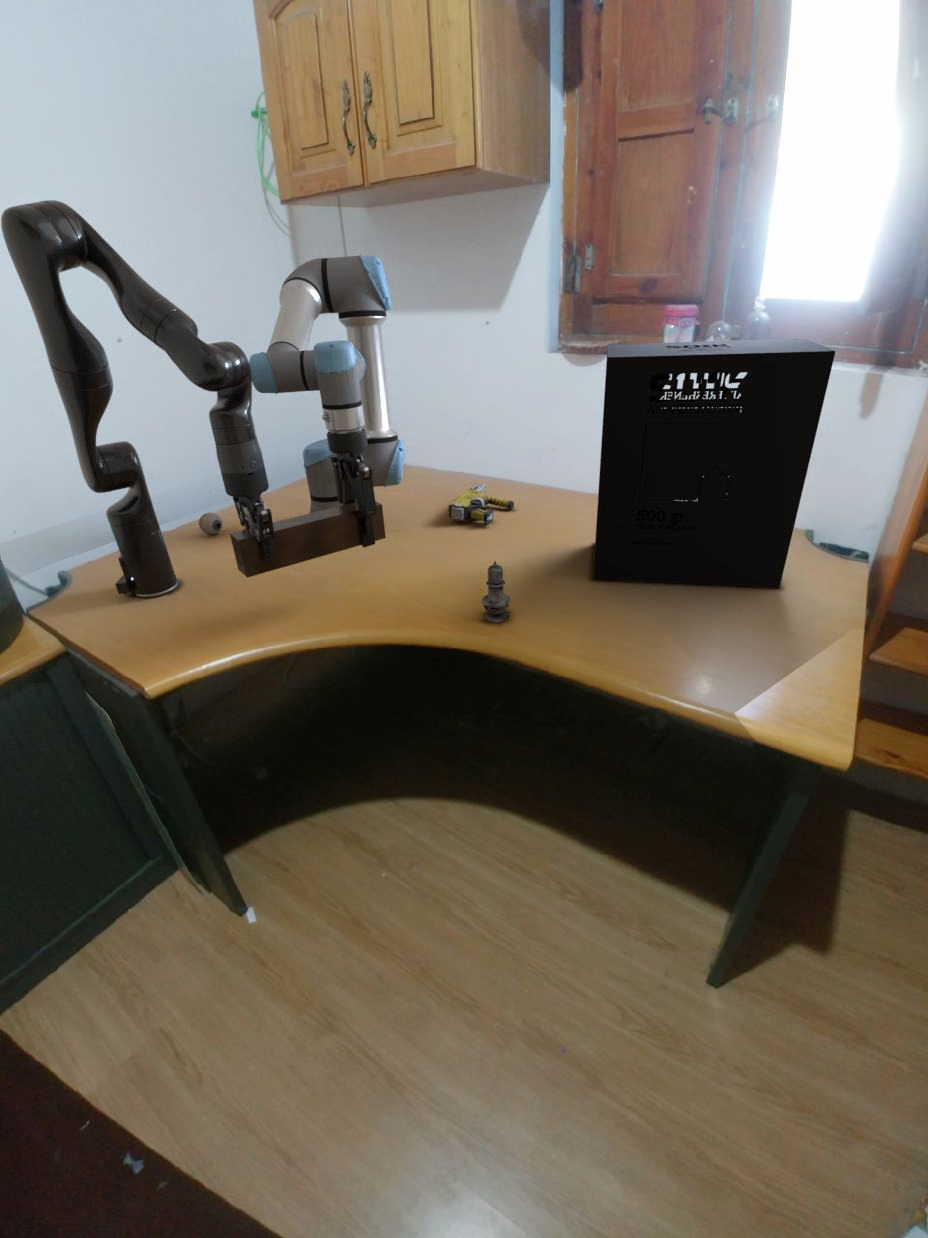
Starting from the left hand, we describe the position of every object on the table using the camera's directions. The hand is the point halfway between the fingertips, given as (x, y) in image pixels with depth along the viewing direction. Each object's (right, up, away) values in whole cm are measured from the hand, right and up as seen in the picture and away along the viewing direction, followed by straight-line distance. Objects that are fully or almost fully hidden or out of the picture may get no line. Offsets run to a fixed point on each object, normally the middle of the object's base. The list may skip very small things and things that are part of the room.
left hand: (262, 553), depth 115 cm
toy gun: (+45, +18, +58) cm, 75 cm away
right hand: (+17, +4, +12) cm, 21 cm away
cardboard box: (+87, 0, +21) cm, 90 cm away
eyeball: (-31, +11, +53) cm, 62 cm away
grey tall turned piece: (+45, -12, +5) cm, 47 cm away
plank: (+8, +1, +7) cm, 11 cm away
